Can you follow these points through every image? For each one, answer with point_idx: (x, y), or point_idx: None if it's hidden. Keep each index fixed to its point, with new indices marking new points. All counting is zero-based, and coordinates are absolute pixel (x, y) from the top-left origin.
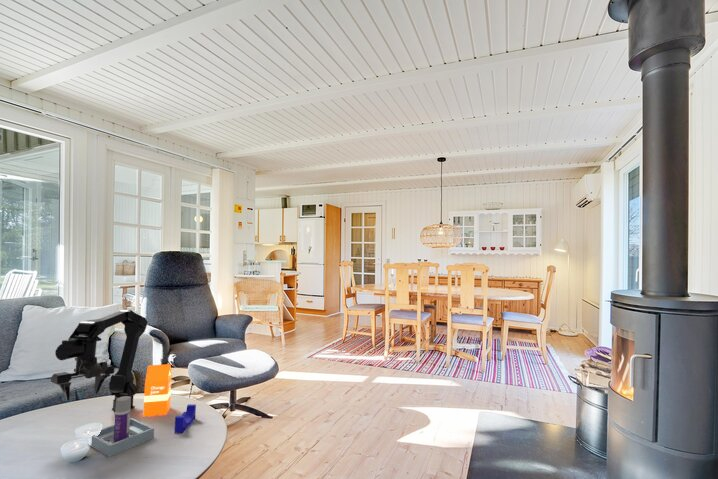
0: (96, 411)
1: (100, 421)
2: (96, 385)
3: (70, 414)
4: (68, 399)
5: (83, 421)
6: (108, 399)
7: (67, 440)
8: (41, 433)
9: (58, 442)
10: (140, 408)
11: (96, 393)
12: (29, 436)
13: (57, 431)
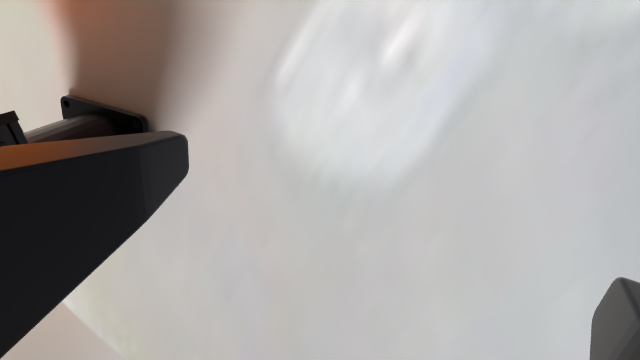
0: (207, 262)
1: (264, 121)
2: (64, 230)
3: (293, 354)
4: (636, 293)
5: (312, 222)
6: (115, 316)
7: (571, 49)
8: (527, 318)
9: (622, 84)
10: (51, 54)
11: (174, 134)
12: (586, 350)
13: (472, 251)
